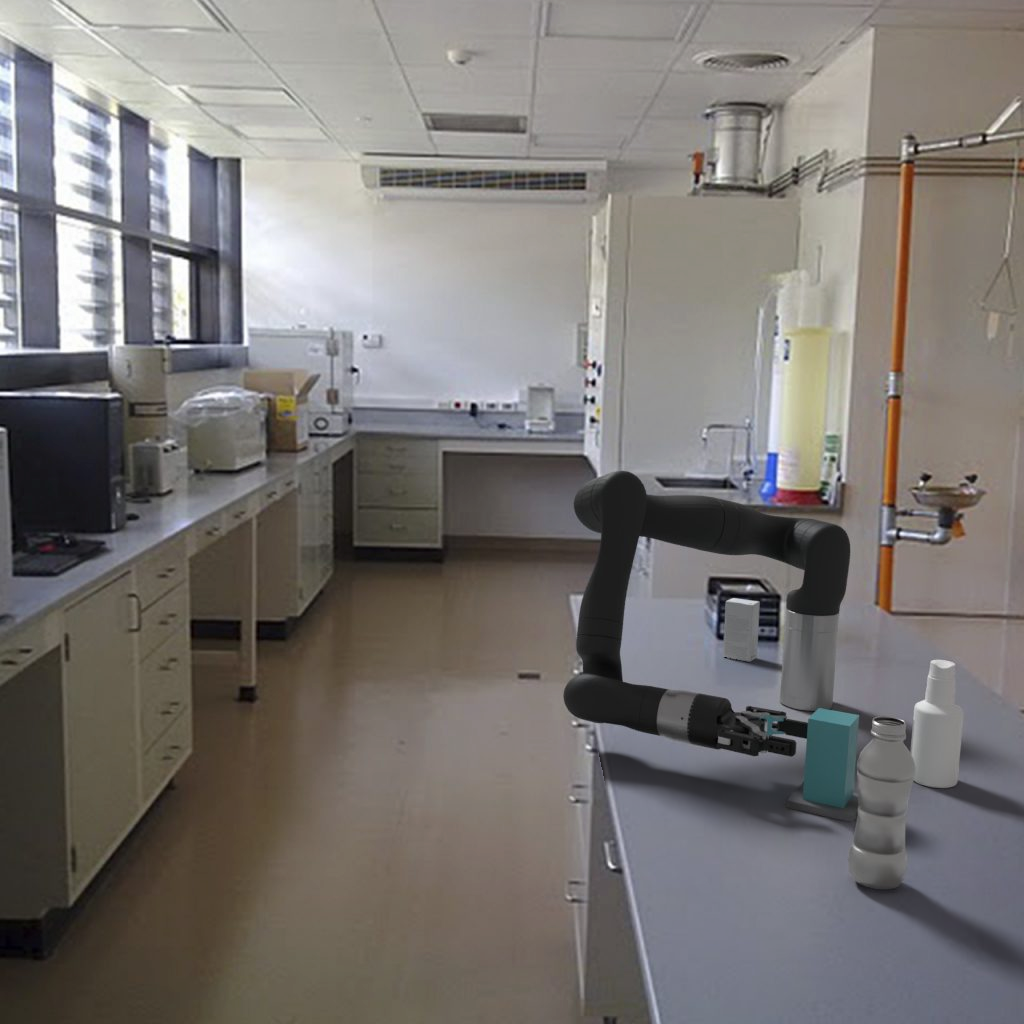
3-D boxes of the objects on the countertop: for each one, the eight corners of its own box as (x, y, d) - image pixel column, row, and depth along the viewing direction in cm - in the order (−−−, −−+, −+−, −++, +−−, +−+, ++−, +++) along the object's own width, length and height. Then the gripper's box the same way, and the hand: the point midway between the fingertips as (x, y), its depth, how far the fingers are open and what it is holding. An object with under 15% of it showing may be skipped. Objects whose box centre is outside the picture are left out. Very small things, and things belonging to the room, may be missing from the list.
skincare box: (757, 658, 231) (760, 601, 229) (749, 662, 228) (753, 605, 226) (729, 653, 234) (732, 597, 233) (721, 657, 231) (725, 600, 229)
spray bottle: (956, 775, 168) (966, 659, 166) (958, 792, 162) (969, 671, 159) (908, 769, 171) (917, 654, 168) (908, 784, 164) (918, 665, 162)
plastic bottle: (838, 871, 136) (850, 712, 133) (891, 870, 136) (905, 712, 133) (858, 897, 129) (871, 730, 126) (915, 896, 130) (929, 730, 127)
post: (804, 786, 162) (808, 733, 161) (867, 800, 158) (872, 745, 157) (786, 807, 155) (790, 751, 153) (852, 822, 150) (857, 765, 149)
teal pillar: (813, 786, 160) (818, 707, 158) (853, 794, 157) (859, 715, 155) (802, 799, 155) (808, 718, 153) (843, 808, 152) (849, 726, 151)
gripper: (678, 706, 158) (792, 728, 150) (711, 682, 170) (818, 701, 163) (675, 757, 159) (788, 781, 151) (709, 729, 171) (815, 750, 164)
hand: (803, 740), depth 157 cm, fingers open, 8 cm apart
